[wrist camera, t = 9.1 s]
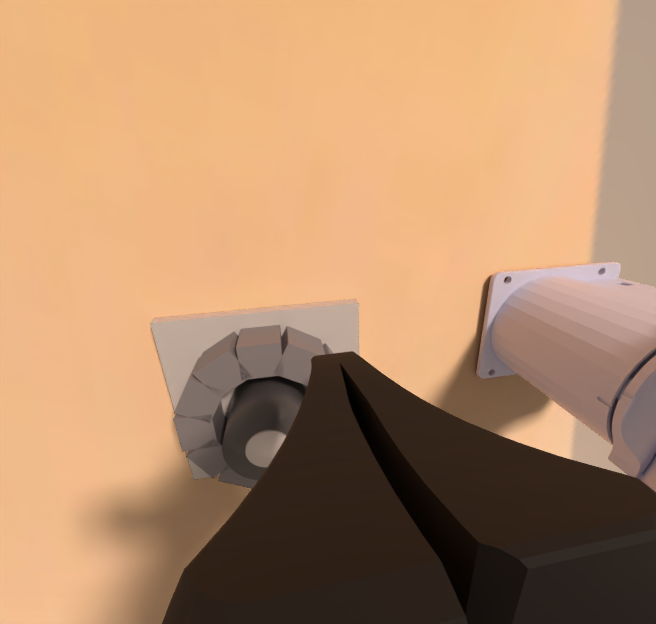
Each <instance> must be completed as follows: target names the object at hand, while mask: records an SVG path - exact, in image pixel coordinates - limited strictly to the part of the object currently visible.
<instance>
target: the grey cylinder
mask: <svg viewBox="0 0 656 624" xmlns="http://www.w3.org/2000/svg"><path fill="white" fill-rule="evenodd" d="M304 395H305V389H304V387H303V385H302V384H301V383H298V382H295V381H292V380H290V379H287V378H284V377H281V376H272V377H263V378H255V379H248V380H246V381H245V382H243V383H241V384H240V385H238V386H237V387H236V388H235V390H234V392H233V396H232V400H231V405H230V410H229V415H228V420H227V425H226V429H225V434H224V439H223V444H222V453H223V457H224V460H225V462H226V463H227V465H228V466H229V467H230V468H231V469H232V470H233V471H234V472H235V473H237V474H239V475H241V476H243V477H245V478H249V479H253V480H259V479H260V478H261V476H262V475H263V473H264V472H265V470H266V469H267V467H268V466H269V464H270V463H271V461H272V460H273V458H274V456H275V455H276V453H277V451H278V450H279V448H280V446H281V445H282V443H283V441H284V440H285V438H286V436H287V434H288V432H289V430H290V428H291V426H292V424H293V422H294V420H295V418H296V416H297V413H298V411H299V408H300V406H301V403H302V401H303V398H304Z"/></svg>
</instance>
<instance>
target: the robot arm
mask: <svg viewBox="0 0 656 624" xmlns="http://www.w3.org/2000/svg"><path fill="white" fill-rule="evenodd" d="M620 269H621V266H620V264H619V263H615V262H606V263H594V264H583V265H572V266H560V267H549V268H538V269H527V270H516V271H504V272H497V273H495V274H493V275H492V277H491V279H490V284H489V291H488V298H487V304H486V311H485V318H484V324H483V331H482V337H481V344H480V351H479V357H478V364H477V370H476V374H477V375H478V376H479V377H480V378H481V379H487V378H494V377H501V376H509V375H516V374H518V375H519V376H521V377H522V378H523V379H525V380H526V381H527V382H529V383H530V384H531V385H533V386H534V387H535V388H537V389H538V390H539V391H541V392H542V393H543V394H545V395H546V396H547V397H549V398H550V399H551V400H553V401H554V402H555V403H557V404H558V405H559V406H561V407H562V408H563V409H565V410H566V411H567V412H569V413H570V414H571V415H573V416H574V417H575V418H577V419H578V420H579V421H581V422H582V423H583V424H585V425H586V426H587V427H589V428H590V429H591V430H593V431H594V432H595V433H597V434H598V435H599V436H601V437H602V438H603V439H605V440H606V441H607V442H609V443H610V444H611V445H613V448H612V451H611V453H610V455H609V457H608V459H609V460H610V461H611V462H612V463H614V464H615V465H616V466H617V467H619V468H620V469H621V470H622V471H624V472H625V473H626V474H627V475H624V474H621V473H617V472H614V471H610V470H606V469H602V468H599V467H596V466H592V465H588V464H585V463H581V462H578V461H574V460H570V459H567V458H563V457H560V456H557V455H554V454H551V453H548V452H545V451H542V450H539V449H536V448H533V447H530V446H527V445H524V444H521V443H518V442H515V441H513V440H510V439H507V438H505V437H502V436H499V435H497V434H494V433H492V432H489V431H487V430H485V429H482V428H480V427H477V426H475V425H473V424H470V423H468V422H466V421H464V420H461V419H459V418H457V417H455V416H453V415H451V414H449V413H447V412H445V411H443V410H441V409H439V408H437V407H435V406H433V405H431V404H430V403H428V402H426V401H424V400H422V399H421V398H419V397H417V396H416V395H414V394H412V393H411V392H409V391H408V390H406V389H404V388H403V387H401V386H400V385H398V384H397V383H395V382H394V381H392V380H391V379H389V378H388V377H387V376H385V375H384V374H382V373H381V372H380V371H378V370H377V369H376V368H374V367H373V366H372V365H370V364H369V363H368V362H366V361H365V360H364V359H363V358H361V357H360V356H359V355H358V354H356V353H355V352H353V351H350V352H341V353H333V354H325V355H317V356H314V357H313V358H312V359H311V366H312V367H311V374H310V378H309V382H308V386H307V389H306V392H305V395H304V398H303V401H302V403H301V406H300V408H299V411H298V413H297V416H296V418H295V420H294V422H293V424H292V426H291V428H290V430H289V432H288V434H287V436H286V438H285V440H284V441H283V443H282V445H281V446H280V448H279V450H278V451H277V453H276V455H275V456H274V458H273V460H272V461H271V463H270V464H269V466H268V467H267V469H266V470H265V472H264V473H263V475H262V476H261V478H260V479H259V480H258V482H257V483H256V484H255V486H254V487H253V488H252V490H251V491H250V492H249V494H248V495H247V496H246V498H245V499H244V500H243V502H242V503H241V504H240V506H239V507H238V508H237V510H236V511H235V512H234V513H233V514H232V516H231V517H230V518H229V519H228V521H227V522H226V523H225V524H224V525H223V526H222V527H221V529H220V530H219V531H218V532H217V533H216V534H215V535H214V536H213V538H212V539H211V540H210V541H209V542H208V543H207V544H206V546H205V547H204V548H203V549H202V550H201V551H200V552H199V554H198V555H197V556H196V557H195V558H194V559H193V560H192V561H191V563H190V564H189V565H188V566H187V567H186V568H185V569H184V571H183V573H182V576H181V578H180V580H179V582H178V585H177V587H176V590H175V592H174V594H173V597H172V599H171V602H170V604H169V607H168V609H167V612H166V615H165V617H164V620H163V623H162V624H656V287H653V286H648V285H645V284H640V283H636V282H632V281H628V280H624V279H620V278H618V276H619V272H620ZM506 277H507V280H506V281H505V282H504V279H505V278H506ZM490 370H491V371H490ZM489 371H490V372H489ZM628 475H629V476H628Z"/></svg>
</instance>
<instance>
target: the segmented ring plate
mask: <svg viewBox="0 0 656 624" xmlns="http://www.w3.org/2000/svg"><path fill="white" fill-rule="evenodd" d="M150 325H151V329H152V332H153V336H154V339H155V343H156V347H157V350H158V354H159V357H160V361H161V364H162V368H163V371H164V375H165V379H166V382H167V386H168V389H169V393H170V396H171V400H172V404H173V407H174V413H175V414H176V415H175V417H174V419H173V420H174V423H175V427H176V430H177V434H178V437H179V441H180V444H181V448H182V451H186V454H187V455H186V457H187V458H188V461H189V464H190V468H191V471H192V475H193V478H194V480H196V479H202V478H208V477H212V478H214V477H215V476H219V481H221V482H226V483H230V484H235V485H239V486H243V487H248V488H253V487H254V486H255V484H256V483H257V482H258V480H253V479H249V478H245V477H243V476H241V475H239V474H237V473H235V472H234V471H233V470H232V469H231V468H230V467H229V466H228V465H227V463H226V462H225V460H224V457H223V453H222V444H223V439H224V434H225V429H226V425H227V420H228V415H229V410H230V405H231V400H232V396H233V392H234V390H235V388H236V387H237V386H238V385H240V384H241V383H243V382H245V381H246V380H248V379H255V378H263V377H272V376H281V377H284V378H287V379H290V380H292V381H295V382H298V383H301V384H302V385H303V387H304V389H305V392H306V389H307V386H308V382H309V378H310V374H311V367H312V366H311V359H312V358H313V357H314V356H317V355H325V354H333V353H341V352H350V351H353V352H355V353H356V354H358V355H359V303H358V301H357V300H356V299H349V300H338V301H328V302H317V303H307V304H296V305H286V306H275V307H265V308H254V309H244V310H233V311H222V312H212V313H201V314H191V315H180V316H170V317H159V318H155V319H154V320H153V321H152V322H151V323H150Z"/></svg>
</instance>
